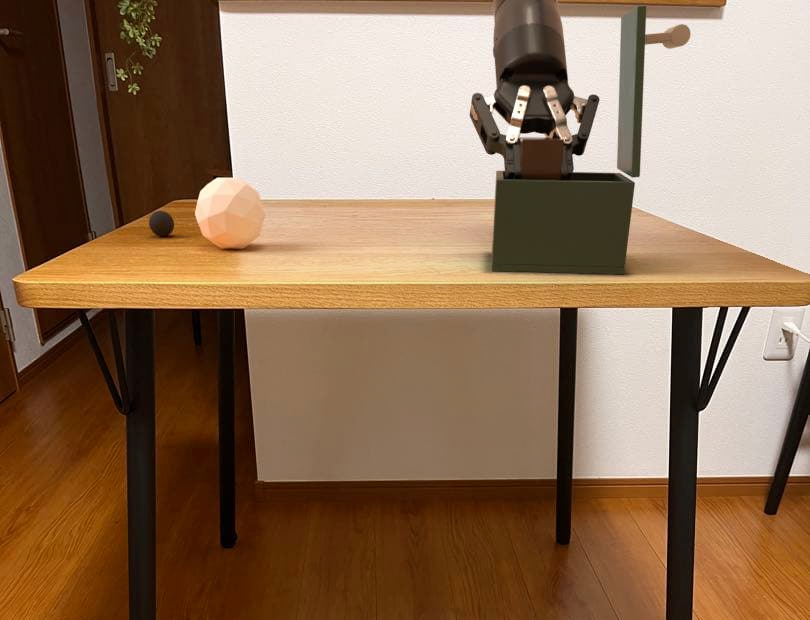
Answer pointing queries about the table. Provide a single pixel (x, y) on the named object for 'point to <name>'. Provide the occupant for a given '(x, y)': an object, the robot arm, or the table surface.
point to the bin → (562, 224)
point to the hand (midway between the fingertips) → (540, 181)
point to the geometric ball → (230, 213)
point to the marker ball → (161, 223)
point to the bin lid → (637, 82)
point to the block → (540, 158)
